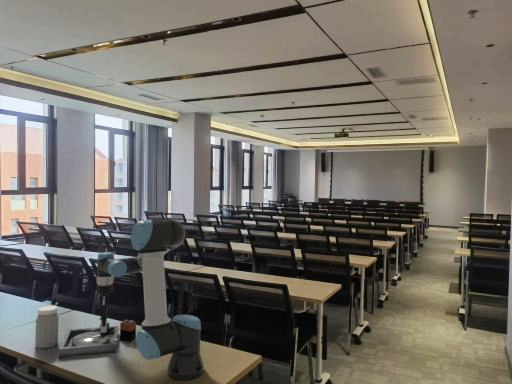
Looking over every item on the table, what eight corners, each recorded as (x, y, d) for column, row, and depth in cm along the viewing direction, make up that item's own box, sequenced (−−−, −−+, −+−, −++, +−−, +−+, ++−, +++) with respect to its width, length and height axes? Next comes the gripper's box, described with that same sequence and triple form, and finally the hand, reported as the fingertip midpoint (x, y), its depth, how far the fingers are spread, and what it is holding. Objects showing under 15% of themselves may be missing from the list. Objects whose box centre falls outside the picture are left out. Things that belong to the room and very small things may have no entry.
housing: (117, 352, 176) (118, 343, 176) (58, 358, 168) (58, 348, 168) (119, 333, 199) (120, 325, 199) (67, 337, 191) (68, 329, 191)
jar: (47, 340, 187) (48, 303, 187) (62, 343, 184) (63, 306, 184) (29, 347, 178) (31, 309, 178) (46, 351, 175) (47, 312, 175)
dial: (78, 352, 171) (79, 336, 171) (66, 341, 184) (67, 325, 184) (115, 343, 183) (115, 327, 183) (101, 332, 195) (102, 318, 195)
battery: (130, 342, 187) (130, 322, 187) (119, 340, 190) (119, 320, 190) (136, 339, 191) (136, 320, 191) (125, 337, 194) (125, 318, 194)
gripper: (112, 286, 181) (111, 336, 181) (113, 280, 193) (112, 327, 193) (95, 287, 179) (94, 337, 179) (97, 281, 191) (96, 328, 191)
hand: (103, 332), depth 186 cm, fingers closed
